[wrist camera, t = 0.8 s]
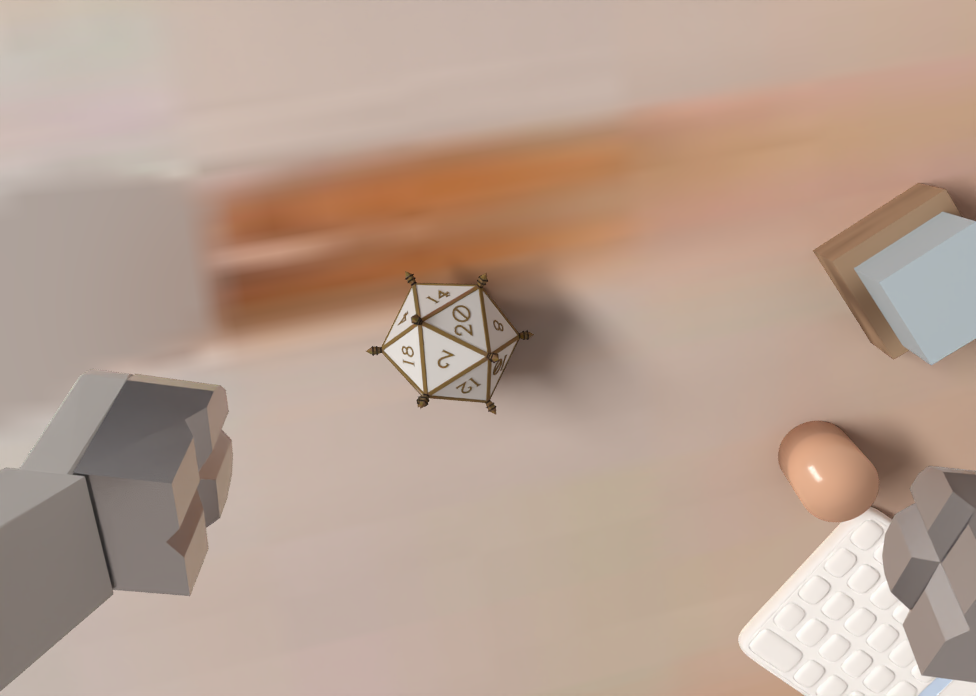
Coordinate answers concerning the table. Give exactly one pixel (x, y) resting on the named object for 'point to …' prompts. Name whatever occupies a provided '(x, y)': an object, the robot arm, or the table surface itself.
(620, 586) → the table surface
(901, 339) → the blue-grey cube
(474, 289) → the game die
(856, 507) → the terracotta capsule
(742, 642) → the calculator
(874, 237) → the walnut block
